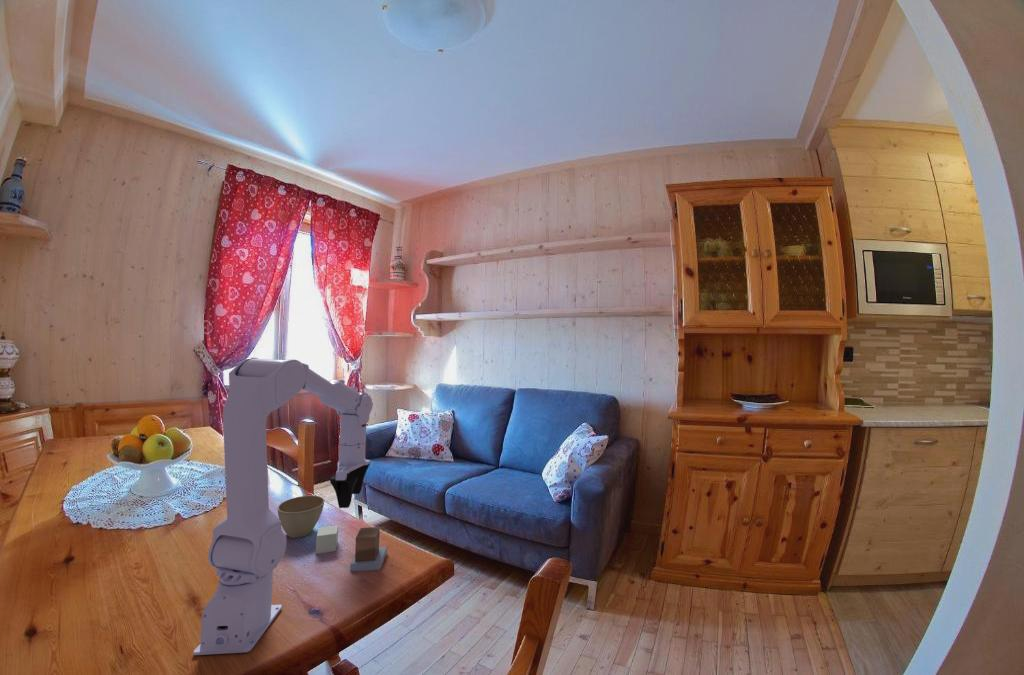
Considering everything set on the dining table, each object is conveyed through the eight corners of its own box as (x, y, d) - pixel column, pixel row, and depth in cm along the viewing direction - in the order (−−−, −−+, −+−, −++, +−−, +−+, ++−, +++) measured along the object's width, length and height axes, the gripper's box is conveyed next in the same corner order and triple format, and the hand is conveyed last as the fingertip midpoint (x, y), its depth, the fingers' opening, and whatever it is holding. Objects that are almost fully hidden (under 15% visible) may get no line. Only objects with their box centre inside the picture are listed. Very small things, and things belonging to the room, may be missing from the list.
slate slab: (379, 572, 74) (380, 562, 74) (349, 573, 74) (350, 563, 74) (386, 555, 80) (386, 546, 80) (358, 556, 80) (359, 547, 80)
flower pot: (302, 546, 82) (303, 515, 82) (265, 540, 84) (267, 509, 84) (332, 525, 92) (333, 497, 92) (298, 520, 94) (300, 493, 94)
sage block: (335, 551, 81) (336, 533, 81) (315, 554, 79) (316, 536, 79) (337, 542, 84) (338, 525, 84) (318, 544, 83) (319, 527, 83)
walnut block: (375, 560, 75) (375, 536, 75) (355, 561, 74) (355, 537, 74) (379, 549, 79) (379, 526, 79) (360, 550, 78) (360, 528, 78)
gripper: (360, 451, 78) (357, 513, 78) (378, 435, 92) (375, 487, 92) (327, 451, 77) (323, 514, 77) (349, 434, 92) (347, 488, 91)
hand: (350, 500), depth 84 cm, fingers open, 7 cm apart
